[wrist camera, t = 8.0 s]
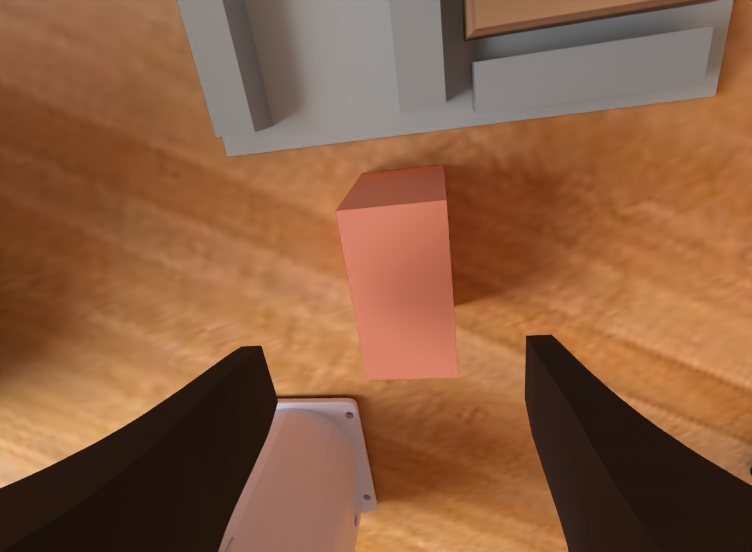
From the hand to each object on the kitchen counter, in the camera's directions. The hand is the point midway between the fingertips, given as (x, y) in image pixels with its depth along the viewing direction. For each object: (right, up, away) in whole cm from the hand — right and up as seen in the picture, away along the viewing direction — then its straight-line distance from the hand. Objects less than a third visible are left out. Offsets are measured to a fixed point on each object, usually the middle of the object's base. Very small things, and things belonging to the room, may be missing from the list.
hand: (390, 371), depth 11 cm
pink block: (+1, +4, +8) cm, 9 cm away
